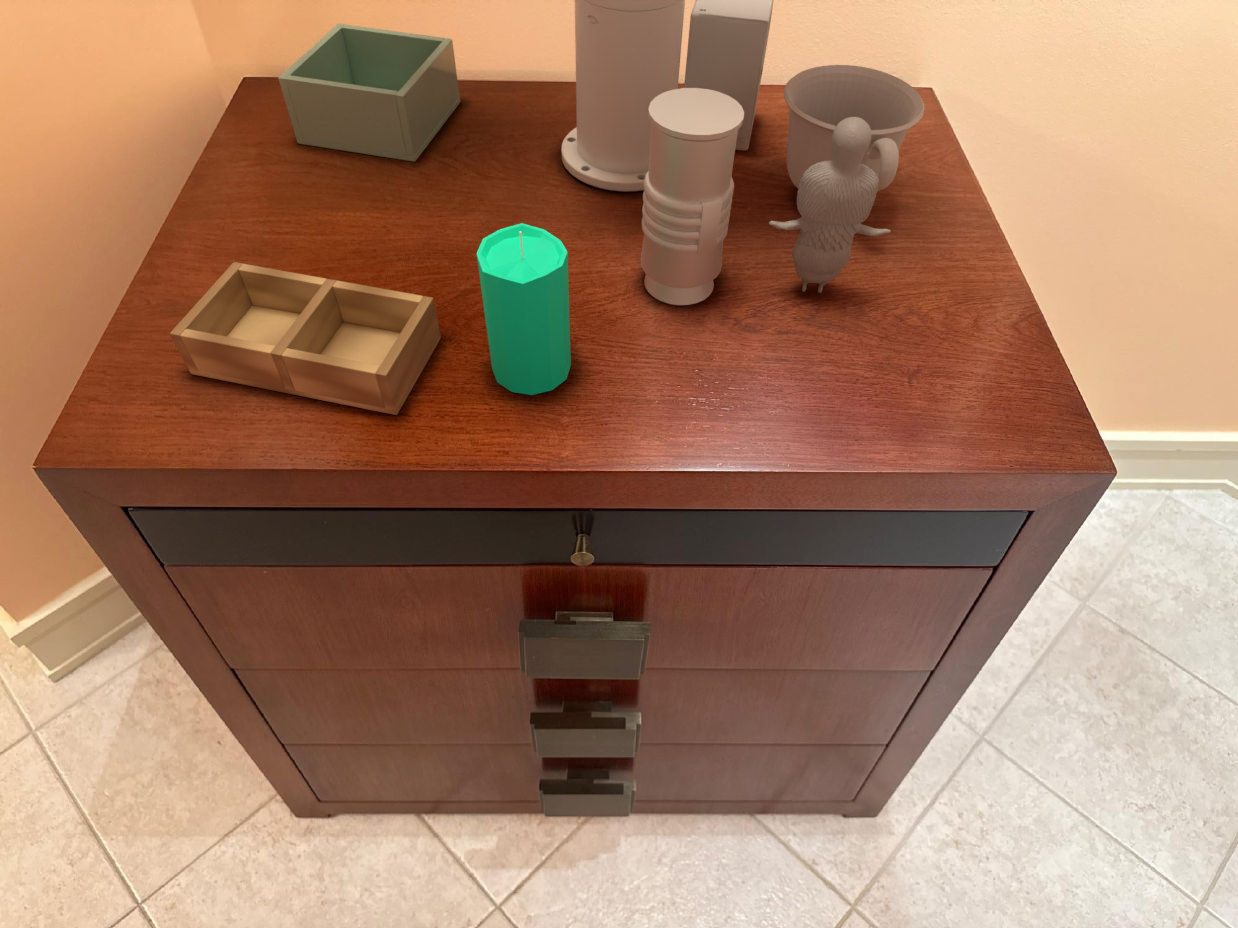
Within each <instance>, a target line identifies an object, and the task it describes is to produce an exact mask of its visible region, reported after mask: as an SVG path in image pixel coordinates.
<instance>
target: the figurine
mask: <svg viewBox="0 0 1238 928" xmlns="http://www.w3.org/2000/svg"><path fill="white" fill-rule="evenodd" d="M871 136H872V135H871V129H870V126H869V125H868V123H867V122H866V121H864V120H863V119H861V118H859V117H849V118H846V119H844V120H842V121H841V122H839V124H838V125H837V126H836V128H835V130H834V132H833V136H832V144H831V150H832V156H833V159H832V160H831V161H822V162H819V163H816V164H815V165H812V166H811V167H809V168H808V169H807V170H806V171H805V172H804V174H803V175H802V179H801V181H800V185H799V189H798V190H797V192H796V194H797V196H796V207H797V211H798V213H799V214H800V217H799V218H797V219H792V220H788V221H777V220H776V221H775V220H770V221H769V222H768V224H769V226H772V227H773V228H775V229H777V230H782V231H794V230H799V233H798V237H797V239H796V241H795V244H794V247H793V249H792V252H791V259H792V262H793V264H794V268H795V273H796V275H797V277H799V278H800V279H801V282H802V287H801V291H802V292H803V293H804V292H807V291H806V290H807V286H808V284H809V283H815V284H819V286H818V288H817V292H818V293H819V294H821V293H822V292H823V288H824V286H825V285H827V284H828V282H831V281H833V280H835V279H836V278H837V277H838V276H839V274H840V272H841V271H842V270H843V269H844V268H845V267H846V265H848V263H849V262H851V261H850V260H851V259H852V246H853V241H854V237H855V235H856V234H859V235H863V236H869V237H877V236H878V237H881V236H883V235H886V234H890V233H891V229H888V228H874V227H872V226H869V225H866V224H863V222H865V221H867V219H868V218H869V216H870V214H871V211H872V209H873V206H874V204H875V201H876V198H877V193H878V191H877V190H878V186H879V178H878V176H877V174H876V172H875V171H873V169H870V168H869V167H868V166H865V165H864V164H861V163H860V162H861V160H862V159H863V157H864V155H865V153H866V151H867V149H868V147H869V145H870V141H871Z"/></svg>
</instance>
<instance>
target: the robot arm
mask: <svg viewBox="0 0 1238 928" xmlns="http://www.w3.org/2000/svg"><path fill="white" fill-rule="evenodd" d="M685 5H686V0H574V44H575V45H574V46H575V47H574V48H575V49H574V50H575V102H576V103H575V111H576V112H575V113H576V115H575V116H576V127H575V128H573V129H572V130H570V131H569V132H568V134H566V136H564V138H563V140H562V143H561V150H560V152H561V162H562V164H563V166H564V168H565V169H566V171H568V173H569V174H570V175H572V176H573V177H574V178H576V179H577V180H579V181H581V183H585V184H586V185H589V186H592V187H594V188H598V189H603V190H606V191H613V192H614V191H615V192H640V191H641V192H642V191H644V178H645V175H646V173H647V172H648V171H649V157H650V139H651V121H650V119H649V115H648V109H649V105H650V102H651V101H652V100H653V99H654V98H655V97H656V96H658V95H660V94H662V93H664V92H667V91H670V90H674V89H679V82H680V81H679V79H680V67H681V56H682V43H683V30H684V19H685Z"/></svg>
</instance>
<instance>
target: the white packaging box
mask: <svg viewBox="0 0 1238 928" xmlns="http://www.w3.org/2000/svg"><path fill="white" fill-rule="evenodd" d="M773 7H774V0H694V4H693V7H692V10H691V13H690V16H689V17H690V19H689V29H688V38H687V39H688V41H687V42H688V43H687V51H686V59H685V60H686V62H685V72H684V73H685V74H684V81H683V82H684V83H683V88H702V89H709V90H713V91H718V92H721V93H723V94H726V95H728V96H730V97H731V98H733V99H735V100H736V101H737V102H738V103H739V104H740V105H741V106H742V108H743V111H744V118H743V124H742V125H741V127H740V128H739V129H738V134H737V140H736V147H735V151H745V152H747V151H748V150H749V148H750V147H749V146H750V142H751V136H752V132H753V131H752V130H753V126H754V121H755V116H756V110H757V105H758V98H759V95H760V94H759V93H760V90H761V89H760V87H761V82H762V77H763V70H764V64H765V58H766V53H767V52H766V51H767V47H768V41H769V35H770V34H769V33H770V29H771V28H770V27H771V22H772V14H773Z"/></svg>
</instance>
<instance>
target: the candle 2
mask: <svg viewBox="0 0 1238 928" xmlns="http://www.w3.org/2000/svg"><path fill="white" fill-rule="evenodd" d="M648 115H649V119H650V121H651V139H650V157H649V171H648V172H647V173H646V175H645V178H644V190H643V194H642V201H643V205H642V209H641V213H642V218H641V229H642V233H643V239H642V246H641V253H640V260H639V261H640V267H641V268H642V270H643V272H644V274H645V276H644V281H643V283H644V288H645V290H646V291H647V293H649V295H651V296H652V297H653V298H654V299H656V300H657V301H660V302H662V303H665V304H669V305H674V306H689V305H694V304H698V303H700V302H702V301H705V300H707V298H709V297H710V296H711V294H712V293H713V291H714V288H715V283H714V280H715V279H716V278H717V277H719V275H720V273H721V272H722V266H723V253H724V241H725V239H726V237H727V236H728V230H729V222H730V217H731V210H732V204H733V196H734V191H735V190H734V189H735V182H734V179H733V177H732V174H733V168H734V161H735V154H736V150H735V147H736V140H737V134H738V129H739V128H740V127H741V125H742V124H743V118H744V111H743V108H742V106H741V105H740V104H739V103H738V102H737V101H736V100H735V99H733V98H731V97H730V96H728V95H726V94H723V93H721V92H718V91H713V90H709V89H702V88H684V87H681V88H678V89H674V90H670V91H667V92H664V93H662V94H660V95H658V96H656V97H655V98H654V99H653V100H652V101H651V102H650V105H649V109H648Z"/></svg>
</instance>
